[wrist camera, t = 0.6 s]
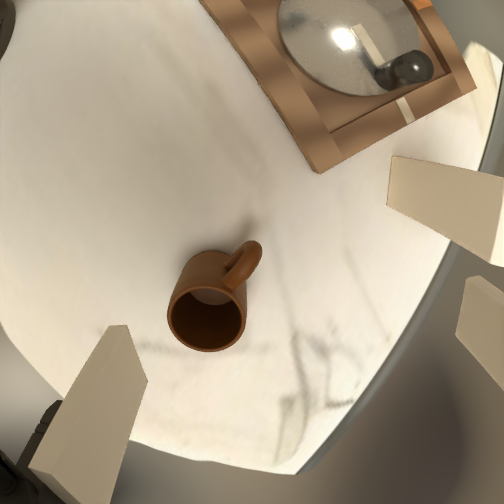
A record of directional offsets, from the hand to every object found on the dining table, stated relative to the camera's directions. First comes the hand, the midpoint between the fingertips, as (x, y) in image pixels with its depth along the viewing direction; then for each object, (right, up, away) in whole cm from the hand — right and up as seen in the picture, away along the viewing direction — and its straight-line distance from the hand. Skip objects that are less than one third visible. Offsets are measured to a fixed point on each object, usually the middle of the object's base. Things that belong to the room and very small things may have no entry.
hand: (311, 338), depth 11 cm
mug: (-5, +2, +26) cm, 27 cm away
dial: (+9, +27, +15) cm, 32 cm away
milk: (+17, +11, +23) cm, 31 cm away
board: (+8, +27, +17) cm, 33 cm away
